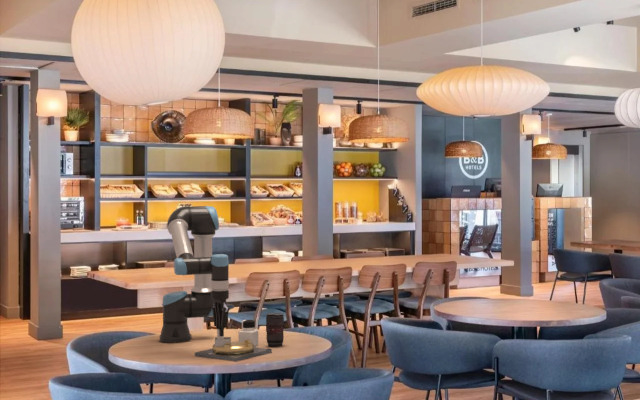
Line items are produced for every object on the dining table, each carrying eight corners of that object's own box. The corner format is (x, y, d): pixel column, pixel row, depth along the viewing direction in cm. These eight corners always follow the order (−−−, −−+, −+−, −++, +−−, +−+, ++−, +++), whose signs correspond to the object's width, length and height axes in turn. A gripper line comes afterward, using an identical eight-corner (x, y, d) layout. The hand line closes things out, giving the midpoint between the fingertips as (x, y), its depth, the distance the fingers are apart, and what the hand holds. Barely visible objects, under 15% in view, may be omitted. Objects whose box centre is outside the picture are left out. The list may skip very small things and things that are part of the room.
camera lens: (281, 347, 420) (281, 315, 419) (264, 347, 421) (264, 314, 421) (285, 344, 427) (285, 312, 427) (269, 344, 429) (268, 312, 429)
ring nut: (253, 346, 415) (252, 334, 415) (254, 353, 397) (254, 340, 397) (212, 347, 413) (212, 335, 413) (212, 354, 395) (212, 342, 395)
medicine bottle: (258, 344, 428) (258, 319, 428) (252, 347, 421) (252, 321, 421) (244, 344, 430) (244, 318, 430) (238, 346, 424) (238, 320, 423)
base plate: (194, 355, 402) (194, 352, 402) (230, 347, 422) (230, 343, 422) (236, 361, 388) (236, 357, 388) (271, 352, 408) (271, 348, 408)
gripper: (234, 290, 399) (235, 344, 400) (220, 287, 409) (221, 340, 410) (219, 292, 395) (219, 346, 395) (205, 288, 405) (206, 342, 406)
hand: (220, 343), depth 403 cm, fingers closed
